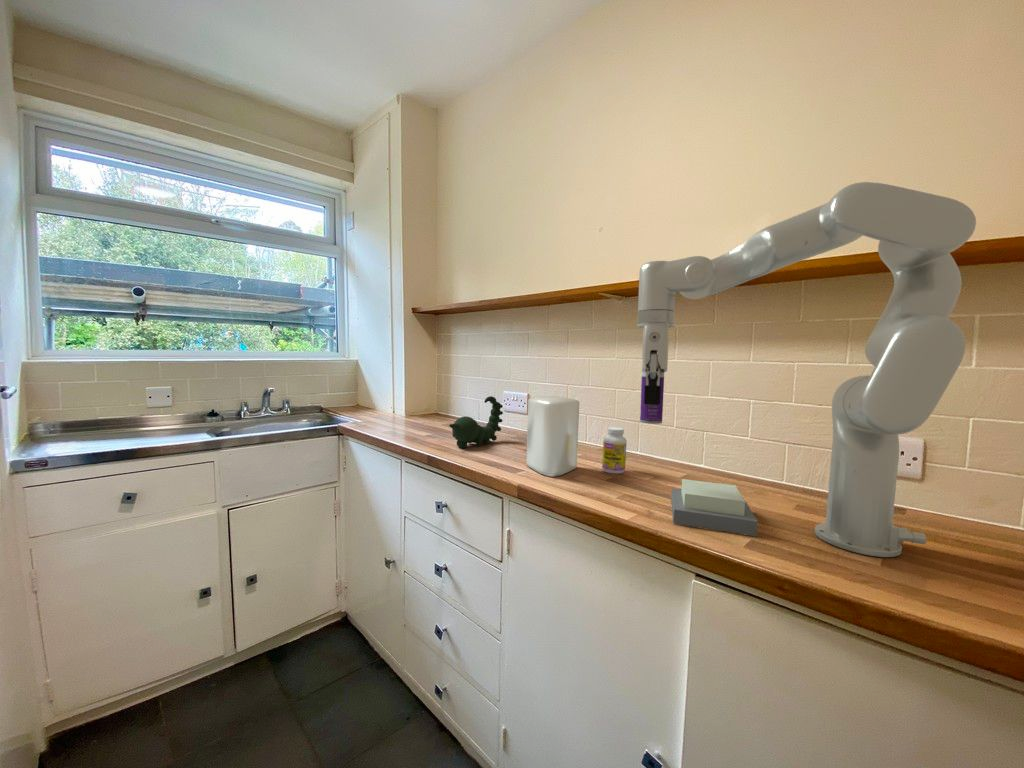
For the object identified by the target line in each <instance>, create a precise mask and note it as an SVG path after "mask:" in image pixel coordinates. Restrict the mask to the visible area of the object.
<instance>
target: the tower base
mask: <svg viewBox="0 0 1024 768" xmlns="http://www.w3.org/2000/svg"><path fill="white" fill-rule="evenodd" d="M670 501H671V502H670V503H671V513H672V514H673V515H672V524H673V523H675V524H674V525H678V524H679V526H684V525H686V526H685V527H690V526H694V527H693V528H697V527H701V528H700V529H703V528H707V529H706V530H710V529H712V530H711V531H716V530H718V531H719V530H720V531H719V532H723V531H727V532H726V533H729V532H733V533H732V534H736V533H739V534H738V535H742V534H746V535H745V536H749V535H752V536H751V537H755V536H758V523H759V521H758V519H757V518H756V516H755V514H754V513H753V511H752V510H751V507H750V506H749V504H748V503H747V501H746V500H745V498H744V497H743V495H742V494H741V492H740V491H739V489H738V487H737V485H735V484H726V483H719V482H710V481H709V482H708V481H704V480H703V481H702V480H693V479H685V478H682V479H681V488H676V487H675V488H673V487H672V488H671V497H670Z"/></svg>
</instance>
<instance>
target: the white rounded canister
mask: <svg viewBox="0 0 1024 768" xmlns="http://www.w3.org/2000/svg"><path fill="white" fill-rule="evenodd" d="M527 407H528V408H527V431H526V432H527V433H526V438H527V439H526V460H525V461H526V466H527V467H529V468H531V470H534V471H535V472H537V473H539V474H540V475H542V474H543V475H542V476H546V477H551V478H552V477H554V478H555V477H559V476H563V475H565V474H567V473H570V472H572V471H573V470H575V469H577V467H578V450H579V449H578V443H579V423H580V422H579V421H580V420H579V419H580V417H579V416H580V400H577V399H575V398H574V399H573V398H569V397H564V396H555V395H554V396H537V397H531V398H528V402H527Z"/></svg>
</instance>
